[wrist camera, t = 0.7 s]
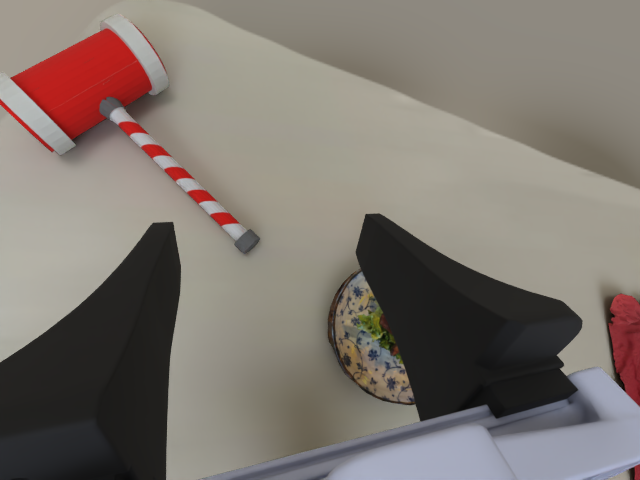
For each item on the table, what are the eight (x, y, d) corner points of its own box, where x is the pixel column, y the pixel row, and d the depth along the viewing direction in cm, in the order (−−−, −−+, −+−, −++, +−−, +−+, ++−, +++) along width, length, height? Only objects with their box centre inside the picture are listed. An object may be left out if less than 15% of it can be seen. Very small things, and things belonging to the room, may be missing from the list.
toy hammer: (299, 207, 30) (307, 173, 24) (202, 298, 26) (183, 285, 20) (135, 59, 33) (105, -5, 27) (24, 124, 29) (-41, 65, 23)
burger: (302, 356, 26) (315, 360, 19) (363, 239, 30) (392, 207, 23) (430, 430, 26) (491, 462, 19) (475, 302, 30) (538, 289, 23)
